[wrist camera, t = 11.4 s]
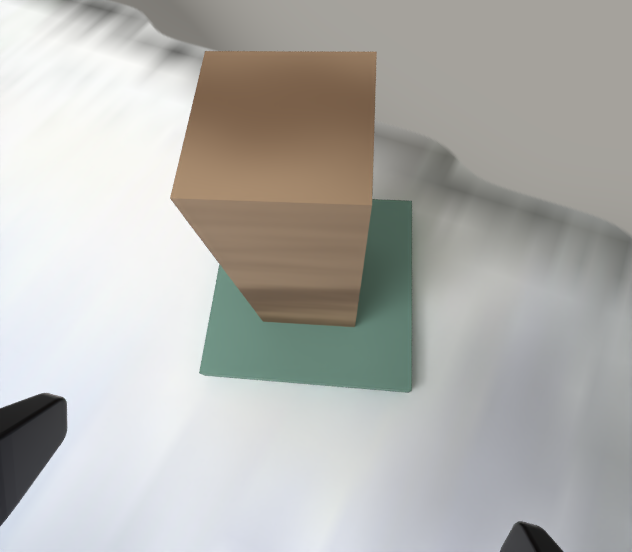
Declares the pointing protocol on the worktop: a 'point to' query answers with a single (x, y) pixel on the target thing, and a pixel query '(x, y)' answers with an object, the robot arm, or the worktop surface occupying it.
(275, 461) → the worktop surface
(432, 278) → the worktop surface
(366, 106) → the walnut block
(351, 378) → the green mat
